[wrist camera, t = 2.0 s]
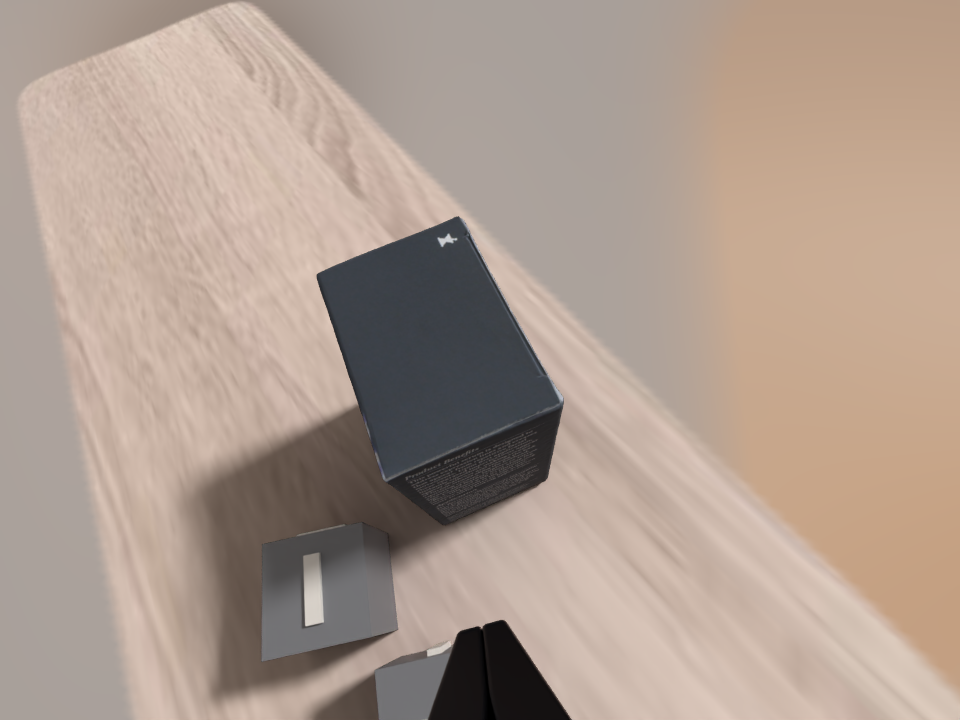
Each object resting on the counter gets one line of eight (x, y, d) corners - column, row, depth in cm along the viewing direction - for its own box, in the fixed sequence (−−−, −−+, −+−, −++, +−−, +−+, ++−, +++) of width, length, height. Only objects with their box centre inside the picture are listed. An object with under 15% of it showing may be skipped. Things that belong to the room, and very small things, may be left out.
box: (390, 388, 26) (310, 268, 16) (486, 348, 26) (465, 209, 17) (441, 531, 22) (379, 484, 13) (552, 481, 23) (571, 401, 13)
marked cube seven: (398, 629, 21) (369, 637, 17) (307, 650, 21) (258, 662, 17) (387, 529, 23) (359, 516, 19) (304, 547, 22) (259, 538, 19)
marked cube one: (516, 752, 18) (513, 792, 15) (414, 776, 18) (385, 822, 15) (492, 629, 20) (485, 638, 17) (400, 651, 20) (372, 664, 17)
